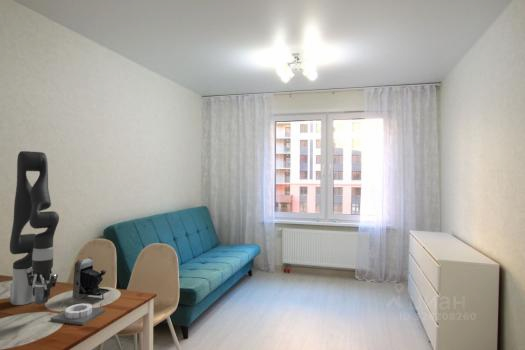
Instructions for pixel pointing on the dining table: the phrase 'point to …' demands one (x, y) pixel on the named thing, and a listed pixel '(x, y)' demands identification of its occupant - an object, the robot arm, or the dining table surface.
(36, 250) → the robot arm
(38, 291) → the lens
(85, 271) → the vintage camera
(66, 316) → the mount
